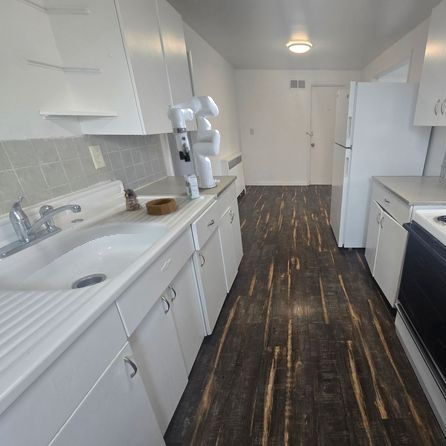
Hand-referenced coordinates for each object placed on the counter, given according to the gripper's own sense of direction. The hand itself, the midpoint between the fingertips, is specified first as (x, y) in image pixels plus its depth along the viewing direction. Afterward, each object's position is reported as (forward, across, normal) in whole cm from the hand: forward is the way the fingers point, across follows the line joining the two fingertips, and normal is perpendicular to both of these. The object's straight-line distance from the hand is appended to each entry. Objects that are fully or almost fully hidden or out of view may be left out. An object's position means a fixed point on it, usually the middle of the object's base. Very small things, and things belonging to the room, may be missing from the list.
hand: (185, 160), depth 155 cm
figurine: (+24, 0, +33) cm, 41 cm away
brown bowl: (+24, -14, +21) cm, 34 cm away
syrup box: (+24, +1, -1) cm, 24 cm away
